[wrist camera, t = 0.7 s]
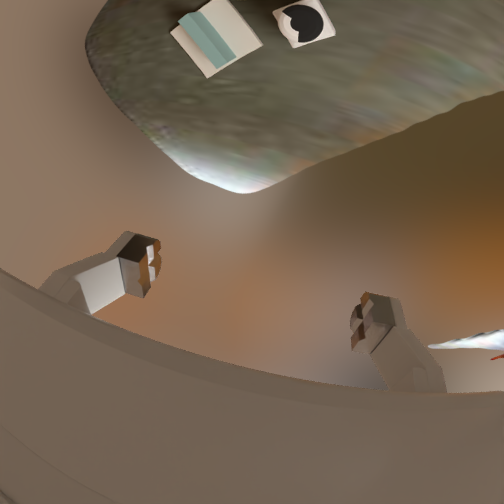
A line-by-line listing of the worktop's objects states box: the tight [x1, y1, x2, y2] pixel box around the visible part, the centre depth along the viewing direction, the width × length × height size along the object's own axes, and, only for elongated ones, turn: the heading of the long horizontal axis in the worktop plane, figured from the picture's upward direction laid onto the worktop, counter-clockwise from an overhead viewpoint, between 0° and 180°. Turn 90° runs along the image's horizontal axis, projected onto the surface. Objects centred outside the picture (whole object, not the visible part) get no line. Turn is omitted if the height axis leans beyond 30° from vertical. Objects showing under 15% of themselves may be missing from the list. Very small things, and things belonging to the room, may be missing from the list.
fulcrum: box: [170, 0, 263, 78], centre depth 38 cm, size 13×13×6 cm
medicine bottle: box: [272, 0, 335, 48], centre depth 30 cm, size 7×7×12 cm
